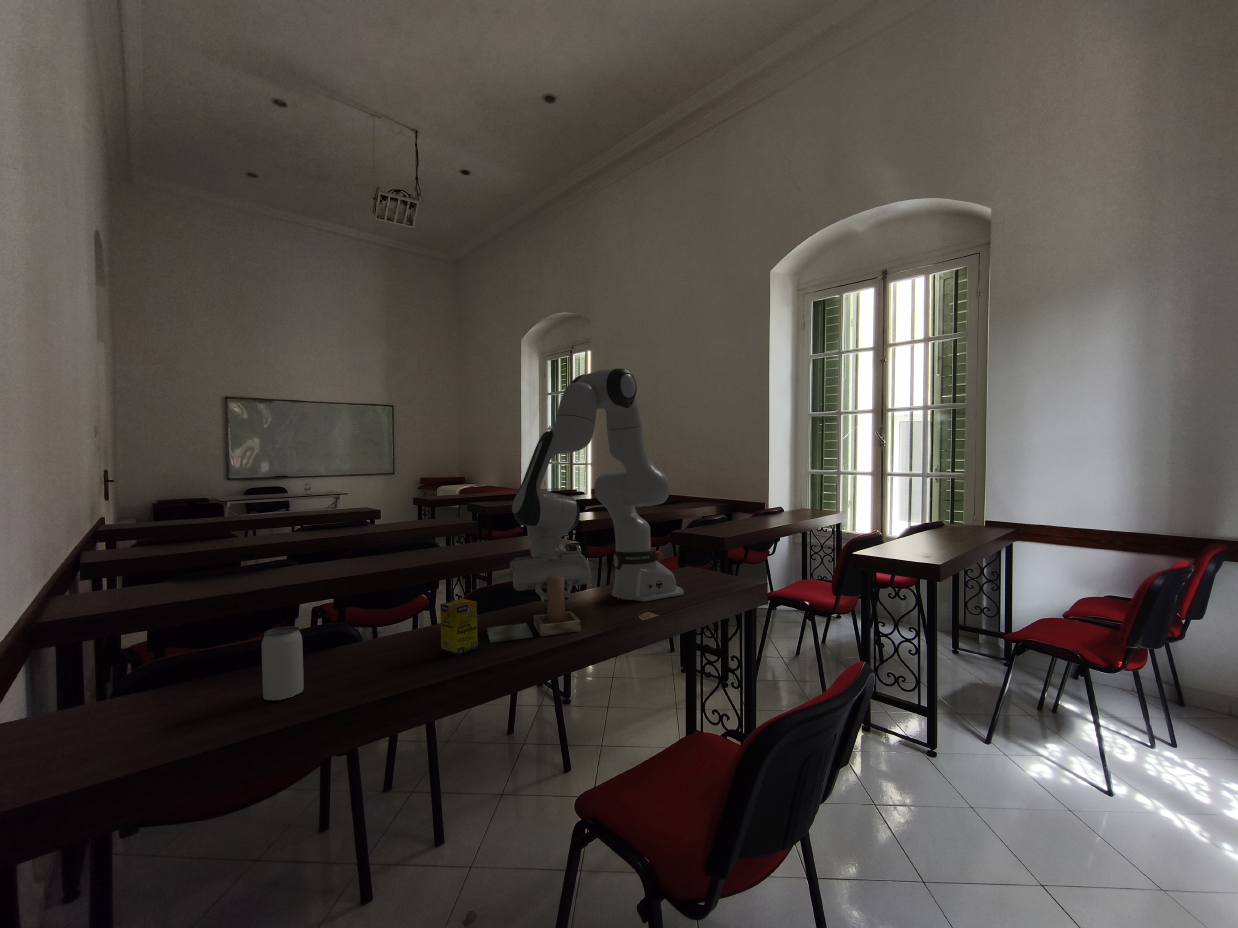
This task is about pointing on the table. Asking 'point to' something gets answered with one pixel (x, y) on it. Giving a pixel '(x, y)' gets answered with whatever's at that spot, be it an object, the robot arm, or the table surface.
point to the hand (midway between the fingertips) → (556, 599)
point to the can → (282, 663)
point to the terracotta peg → (556, 599)
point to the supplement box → (459, 627)
